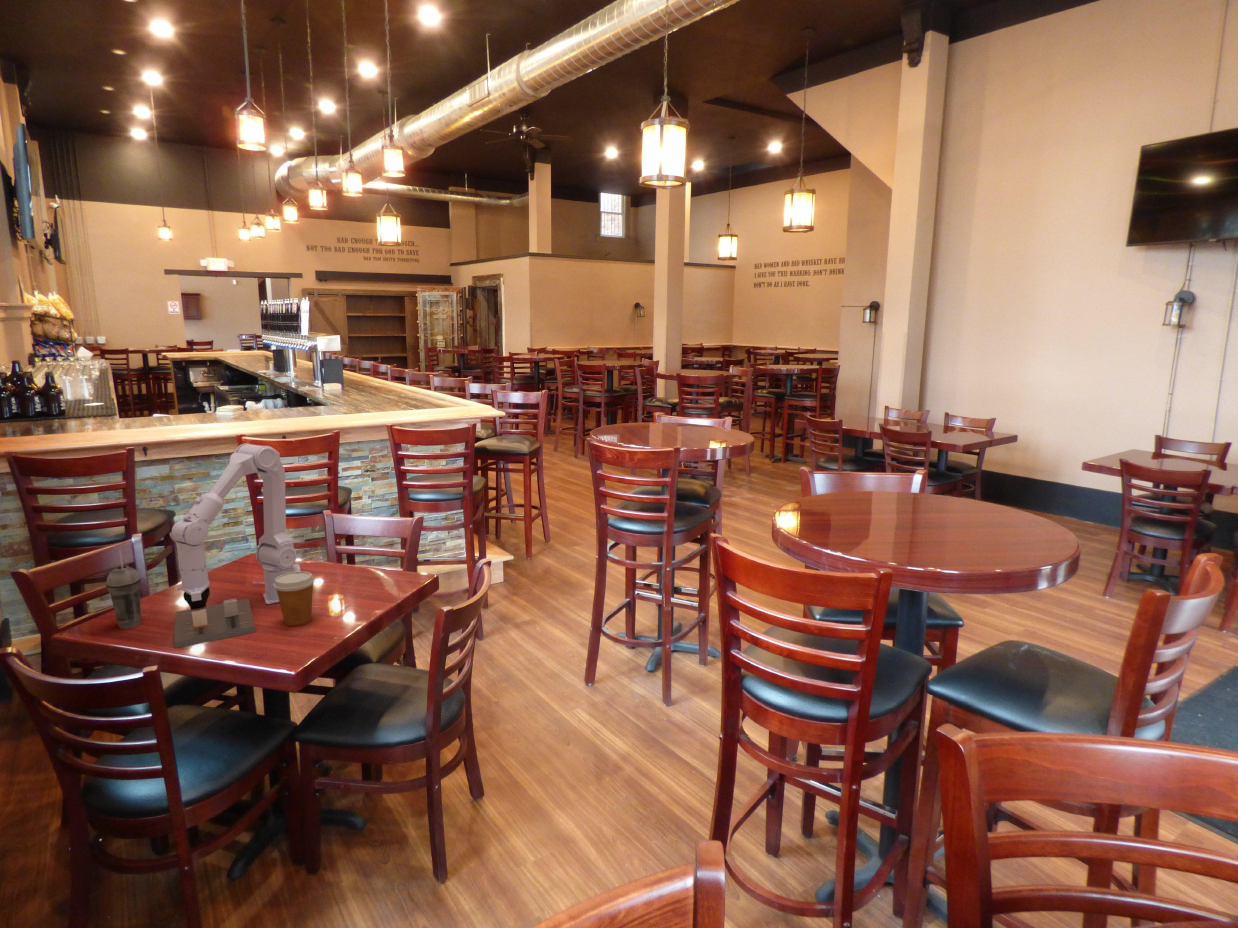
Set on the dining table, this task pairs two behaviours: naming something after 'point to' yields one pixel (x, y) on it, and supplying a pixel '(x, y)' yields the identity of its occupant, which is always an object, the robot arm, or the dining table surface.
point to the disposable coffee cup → (295, 597)
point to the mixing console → (213, 624)
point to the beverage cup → (125, 595)
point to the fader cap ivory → (199, 617)
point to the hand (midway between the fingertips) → (199, 618)
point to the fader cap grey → (230, 607)
